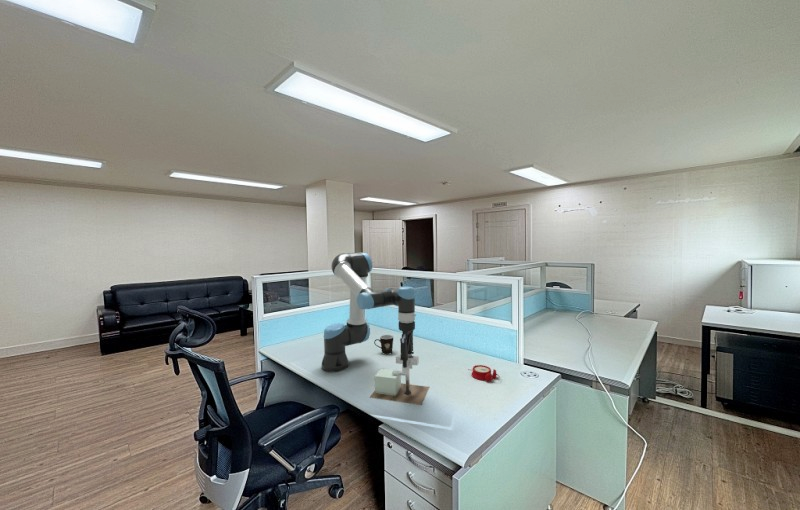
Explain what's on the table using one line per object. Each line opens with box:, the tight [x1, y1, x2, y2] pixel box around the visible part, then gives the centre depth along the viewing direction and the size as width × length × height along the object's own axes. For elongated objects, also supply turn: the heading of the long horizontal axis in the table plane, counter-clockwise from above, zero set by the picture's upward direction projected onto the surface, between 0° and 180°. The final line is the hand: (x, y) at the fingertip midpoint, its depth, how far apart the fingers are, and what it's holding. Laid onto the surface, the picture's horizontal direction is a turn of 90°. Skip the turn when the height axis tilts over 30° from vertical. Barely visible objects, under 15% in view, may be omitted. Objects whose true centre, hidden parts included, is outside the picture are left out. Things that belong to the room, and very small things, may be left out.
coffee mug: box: [374, 334, 394, 355], centre depth 193 cm, size 12×9×10 cm
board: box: [369, 382, 430, 406], centre depth 140 cm, size 24×16×2 cm
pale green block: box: [374, 368, 402, 396], centre depth 142 cm, size 10×8×8 cm
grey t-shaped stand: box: [392, 353, 420, 392], centre depth 139 cm, size 12×3×16 cm, turn 73°
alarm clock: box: [468, 364, 500, 383], centre depth 156 cm, size 10×6×15 cm
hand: (407, 370), depth 139 cm, fingers open, 6 cm apart
